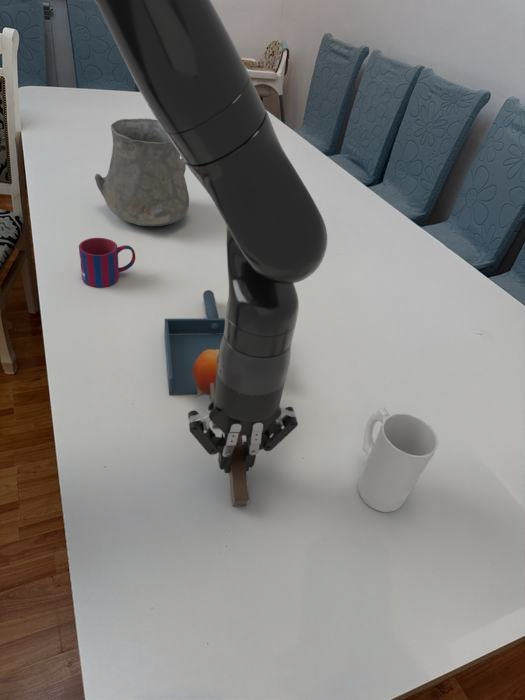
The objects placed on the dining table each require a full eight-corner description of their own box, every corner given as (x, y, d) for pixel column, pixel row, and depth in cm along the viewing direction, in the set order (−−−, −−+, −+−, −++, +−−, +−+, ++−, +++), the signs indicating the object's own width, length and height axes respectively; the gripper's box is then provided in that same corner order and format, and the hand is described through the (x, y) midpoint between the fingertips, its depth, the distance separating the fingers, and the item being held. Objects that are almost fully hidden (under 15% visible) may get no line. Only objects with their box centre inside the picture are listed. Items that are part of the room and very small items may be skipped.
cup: (80, 269, 96) (77, 238, 92) (133, 267, 100) (132, 236, 95) (83, 288, 92) (80, 256, 87) (138, 285, 95) (138, 254, 91)
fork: (259, 503, 63) (263, 499, 60) (218, 507, 61) (220, 502, 59) (244, 386, 70) (247, 378, 68) (208, 387, 69) (210, 379, 67)
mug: (415, 507, 66) (450, 449, 58) (373, 521, 63) (403, 463, 55) (374, 448, 72) (401, 390, 65) (335, 458, 70) (357, 399, 62)
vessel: (110, 244, 105) (105, 148, 92) (92, 199, 120) (85, 111, 107) (208, 237, 113) (215, 148, 101) (179, 195, 128) (182, 113, 115)
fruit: (185, 384, 77) (211, 339, 76) (229, 410, 77) (255, 365, 76) (174, 389, 69) (204, 340, 68) (224, 418, 69) (253, 369, 68)
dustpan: (278, 390, 79) (281, 375, 76) (168, 395, 74) (169, 378, 72) (250, 300, 96) (253, 286, 94) (161, 300, 92) (161, 285, 90)
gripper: (190, 395, 49) (183, 496, 60) (322, 390, 52) (292, 487, 63) (185, 346, 54) (179, 447, 65) (304, 345, 58) (280, 441, 69)
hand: (235, 466), depth 64 cm, fingers closed on fork, 2 cm apart
